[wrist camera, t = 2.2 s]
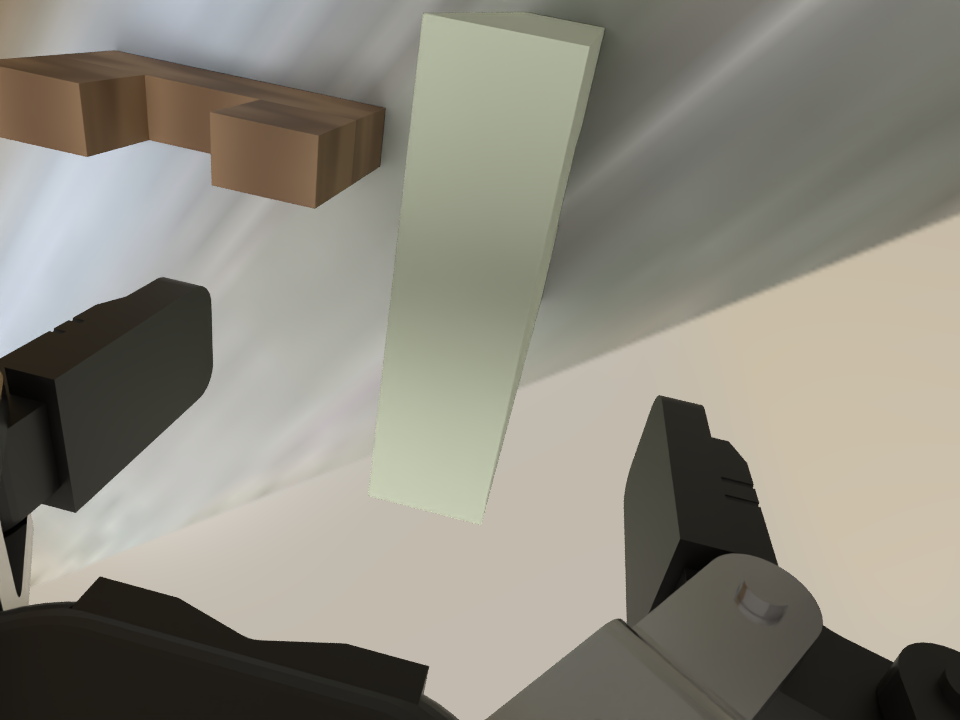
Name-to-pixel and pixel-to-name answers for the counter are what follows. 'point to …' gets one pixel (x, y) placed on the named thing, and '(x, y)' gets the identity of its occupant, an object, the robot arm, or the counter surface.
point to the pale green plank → (474, 245)
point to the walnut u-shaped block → (194, 121)
